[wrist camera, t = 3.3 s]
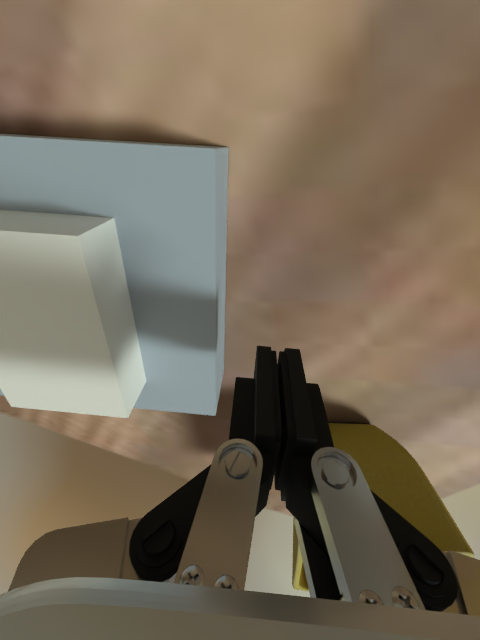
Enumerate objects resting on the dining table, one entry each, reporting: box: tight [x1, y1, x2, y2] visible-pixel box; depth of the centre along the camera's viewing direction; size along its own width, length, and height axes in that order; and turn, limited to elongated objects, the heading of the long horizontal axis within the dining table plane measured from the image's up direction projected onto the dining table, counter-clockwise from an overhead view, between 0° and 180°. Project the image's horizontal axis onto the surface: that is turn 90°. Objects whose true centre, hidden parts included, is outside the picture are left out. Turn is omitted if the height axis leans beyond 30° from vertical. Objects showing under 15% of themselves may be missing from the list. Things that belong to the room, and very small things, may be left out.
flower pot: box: [292, 423, 474, 591], centre depth 20 cm, size 9×9×9 cm
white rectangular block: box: [0, 210, 146, 418], centre depth 12 cm, size 9×6×2 cm, turn 177°
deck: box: [0, 134, 229, 416], centre depth 15 cm, size 14×15×4 cm
